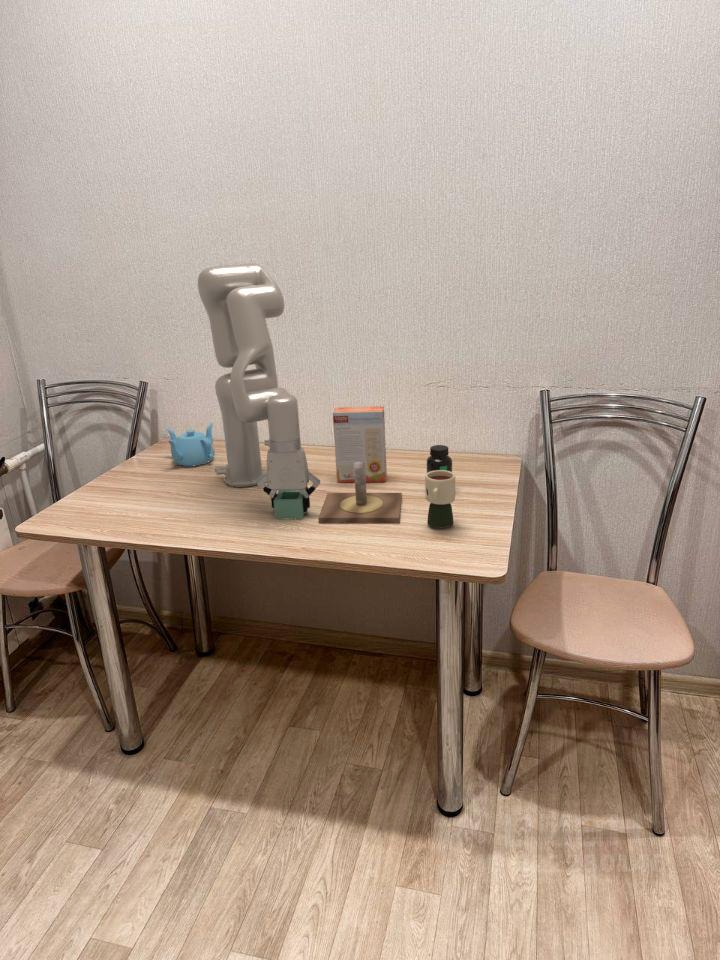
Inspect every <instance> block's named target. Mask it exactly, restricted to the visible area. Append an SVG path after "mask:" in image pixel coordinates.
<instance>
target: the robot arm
mask: <svg viewBox="0 0 720 960" xmlns="http://www.w3.org/2000/svg"><path fill="white" fill-rule="evenodd" d="M197 289H198V294H199V297H200V301H201V303H202V305H203V306H204V309H205V312H206V314H207V316H208V320H209V324H210V330H211V331H210V332H211V337H212V343H213V350H214V354H215V358H216V361H217V364H218V366H220V367H222V368H227V369H229V368H231V372H229V373H225V374H223V375H221V376H219V378H217V379H216V382H215V385H214V389H215V394H216V395H215V396H216V398H217V401H218V405H219V409H220V413H221V414H220V415H221V420H222V425H223V436H224V442H225V450H226V451H225V452H226V460H227V464H225V465H214V472H215V473H216V475H225V476H224V478H223V481H224V484H226V485H227V484H228V485H227V486H231V487H234V486H235V488H237V487H238V488H246V487H253V486H257V485H258V487H259V488H261V489H262V490H263V491H262V492H264V493H265V494H267V496H268V497H269V498H270V500H271V501H270V503H271V509H273V512H274V513H275V510H274V499H275V497H276V496H277V494H278V491H279V490H300V491H301V492H302V494H303V510H304V512H305V513H307V511H308V510H309V509H310V507H311V500H310V496H312V493H314V492H315V491H316V489H317V488H318V487H319V485H320V484H321V480H320V479H319V478H317V477H316V476H315V475H314V474H312V473H311V472H310V471H309V466H308V459H307V457H306V456H307V455H306V452H305V449H304V447H302V445H301V444H302V442H301V430H300V419H299V418H300V417H299V407H298V405H299V404H298V399H297V397H296V396H295V395H293V394H290V393H289V392H288V390H286V389H285V388H283V387H280V386H279V383H278V382H279V381H278V375H277V374H278V373H277V369H276V367H277V366H276V361H275V353H274V348H273V342H272V340H271V336H270V335H271V334H270V333H269V328H268V325H267V320H266V319H271V318H278V317H280V316H281V315H283V314H284V310H285V299H284V295H283V293H282V291H281V289H280V287H279V286H278V284H277V282H276V281H275V280H274V278H273V277H272V276H271V275H270V274H269V272H267V270H266V269H265V267H263V266H262V265H260V264H259V263H241V264H228V265H227V264H226V265H224V264H223V265H218V266H211V267H207V268H205V269H203V270H202V271H201V272H200V273H199V274H198V278H197ZM252 365H254V366H255V369H253V368H252V369H247V368H248V366H252ZM263 421H267V424H268V435H269V439H267V440H264V443H263V444H264V446H267V447H269V449H268V450H267V453H266V454H267V456H266V470H264V469H263V468H262V458H261V448H260V447H261V446H260V438H259V430H258V429H259V428H258V427H259V426H258V423H259V422H263ZM309 482H311V483H312V485H311V486H309V487H308V485H309ZM266 483H267V484H266Z"/></svg>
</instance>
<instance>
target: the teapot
mask: <svg viewBox="0 0 720 960" xmlns="http://www.w3.org/2000/svg"><path fill="white" fill-rule="evenodd" d="M213 425H214V422H211V423H209V424H208V425H207V428H206V432H205V434H204V433H203V432H200V431H195V429H187V430H186V431H185V432H184V433H181V434H180V435H178V437H177V436H176V433H175V431H174V430H173V429H171V428H168V427H167V428H165V430H166V431H167V432H168V433H169V436H170V440H169V439H168V440H166V442H168V444H170V454H171V457H172V460H173V461H174V462H175V464H177V465H179V466H181V465H183V466H182V467H194V466H193V465H199V466H201V465H200V464H203V463H206V462H208V461H210V460H211V461H213V459H214V458H215V454H216V453H215V448H214V446H213V444H214V439H213V438H214V437H213V434H212V432H213V431H212V428H213ZM211 461H210V462H211ZM208 463H209V462H208ZM206 464H207V463H206ZM203 465H204V464H203Z"/></svg>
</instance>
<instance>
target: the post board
mask: <svg viewBox="0 0 720 960" xmlns="http://www.w3.org/2000/svg"><path fill="white" fill-rule="evenodd" d="M354 472H355V482H354V489H355V492H327V493H326V496H325V497H324V501H323V503H322V507H321V510H320V512H319V516H318V524H400V521H401V513H402V512H401V511H402V500H403V499H402V498H403V493H402V492H367V482H366V470H365V462H361V461H359V462H355V463H354Z"/></svg>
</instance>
